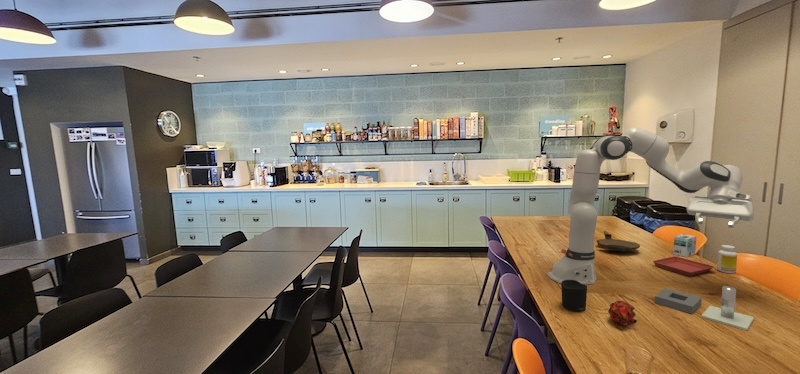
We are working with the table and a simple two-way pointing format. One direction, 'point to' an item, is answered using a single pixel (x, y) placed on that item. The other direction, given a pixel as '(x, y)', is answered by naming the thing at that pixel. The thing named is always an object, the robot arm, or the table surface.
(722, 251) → the supplement bottle
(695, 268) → the plant saucer
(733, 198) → the robot arm
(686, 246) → the light bulb box
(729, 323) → the pad
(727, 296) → the peg
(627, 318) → the dragon fruit
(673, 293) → the square socket
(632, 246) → the frying pan
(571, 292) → the pen holder
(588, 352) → the table surface
